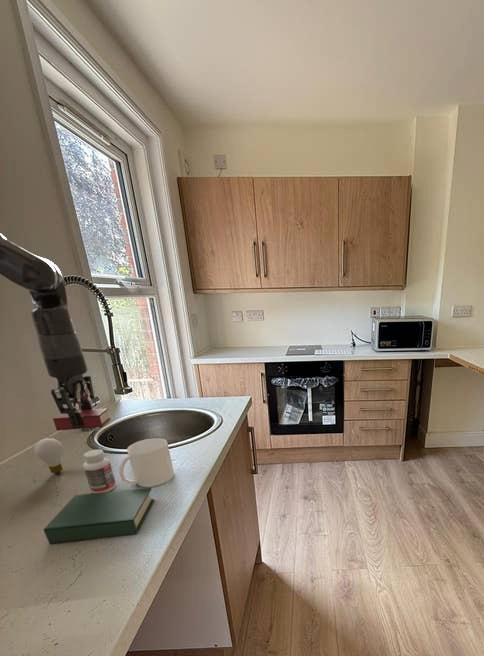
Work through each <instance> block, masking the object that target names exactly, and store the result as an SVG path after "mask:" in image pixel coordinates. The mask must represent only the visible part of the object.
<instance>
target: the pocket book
mask: <svg viewBox="0 0 484 656" xmlns="http://www.w3.org/2000/svg"><path fill="white" fill-rule="evenodd" d="M108 411H109V408H92V409H91V410H82V409H79V412H80V415H81V418H82V421H83V425H84V426H83V427H82V428H73V427H72V425H71V422H70V418H69V415H68V414H61V413H60V414H58V415H57V416H55V417H53V418H52V420H53V423H54V426H55V430H56V431H69V430H70V431H71V430H80V429H81V430H82V429H96V428H97V429H98V428H103V427H104V426H105V425H106V424H108V423H109V422H110V421H111V420H112V419H111V417H109V413H108Z"/></svg>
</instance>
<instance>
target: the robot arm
mask: <svg viewBox="0 0 484 656" xmlns="http://www.w3.org/2000/svg"><path fill="white" fill-rule="evenodd" d="M61 272H62V271H61V270H60V269H59V267H58V266H57V265H56V264H54V262H52V261H50V260H49V259H48V258H44V257H41V256H37V255H35V254H33V253H31V252H30V251H28V250H26V249H24V248H22V247H20V246H19V245H17V244H15V243H13V242H11V241H10V240H9V239H7V238H6V237H5V236H4V235H3V234H2V233H0V276H2V277H3V278H5V279H6V280H8V281H10V282H11V283H13V284H14V285H16V286H18V287H21V288H23V289H24V290H27V291H28V294H29V297H30V300H31V305H32V307H31V308H30V317H31V321H32V324H33V327H34V330H35V333H36V337H37V341H38V347H39V350H40V353H41V355H42V358H43V362H44V365H45V368H46V371H47V374H48V376H49V377H50V378H54V379H56V380H57V388H56V389H55V388H54V389H51V390H50V393H51V396H52V398H53V401H54V402H55V404H56V406H57V409H58V411H59V413H60V414H68V415H69V418H70V422H71V425H72V427H73V428H82V427H83V426H84V425H83V421H82V418H81V415H80V412H79V410H91V409H93V405H92V404H93V400H94V399H95V392H94V386H93V382H92V377H91V375H84V374H86V373H88V366H87V362H86V359H85V356H84V353H83V348H82V346H81V342H80V340H79V338H78V335H77V332H76V329H75V326H74V323H73V319H72V316H71V314H70V310H69V303H68V295H67V290H66V284H65V280H64V278H63V275H62V273H61ZM79 405H80V406H79Z"/></svg>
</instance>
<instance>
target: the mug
mask: <svg viewBox="0 0 484 656" xmlns="http://www.w3.org/2000/svg"><path fill="white" fill-rule="evenodd" d="M168 443H169V442H168V441H167V439H164V438H161V437H152V438H146V439H142V440H138V441H136V442H134V443H132V444H130V445H129V446H127V448H126V451H127V455H126V456H124V457H123V458H122V460H121V462H120V465H119V470H118V471H119V472H118V473H119V477H120V478H121V481H122V482H125V483H127V484H130V485H134V484H135V485H137V486H139V487H141V488H155V487H159V486H161V485H164V484H166V483H168V482H170V481H171V480H172V479H173V477H174V476H175V470H174V466H173V461H172V457H171V453H170V452H171V451H170V449H169V444H168ZM128 461H129V463H130V466H131V470H132V473H133V477H134V479H128V478H127V477H125V474H124V469H125V466H126V463H127V462H128Z"/></svg>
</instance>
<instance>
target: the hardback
mask: <svg viewBox="0 0 484 656" xmlns="http://www.w3.org/2000/svg"><path fill="white" fill-rule="evenodd" d="M152 489H153V487H141V488H133V489H122V490H111V491H108V492H102V493H92V492H91V493H84V494H74V495H73V496H72V498H71V499H70V500H68V502H67V503H66V504H65V505H64V507H63V508H62V509H61V510H60V511H59V512H58V513H57V514H56V515H55V516H54V518H52V520H51V521H50V522H49V523H48V524H47V525H46V526H45V527H44V528H43V532H44V534H45V537H46V539H47V542H48V545H55V544H56V545H57V544H63V543H72V542H81V541H82V542H83V541H90V540H91V541H92V540H98V539H107V538H115V537H116V538H117V537H124V536H133V535H138V533H139V531H140V529H141V528H142V526H143V524H144V522H145V520H146V518H147V517H148V514H149V512H150V510H151V509H152V506H153V504H154V502H155V498H152V497H151V494H150V493H151V491H152Z"/></svg>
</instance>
